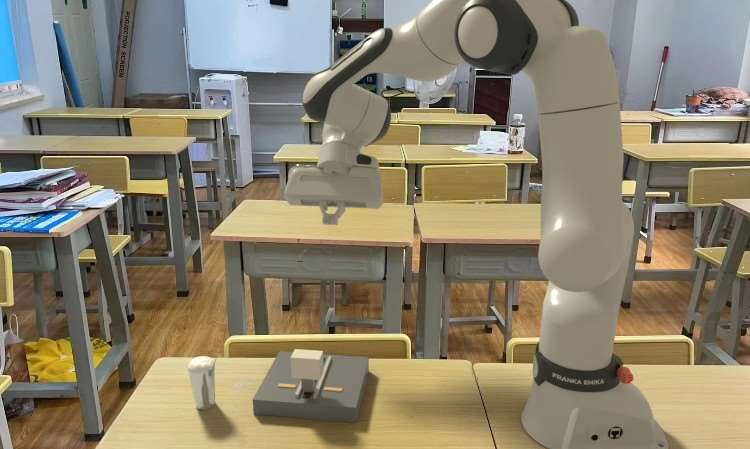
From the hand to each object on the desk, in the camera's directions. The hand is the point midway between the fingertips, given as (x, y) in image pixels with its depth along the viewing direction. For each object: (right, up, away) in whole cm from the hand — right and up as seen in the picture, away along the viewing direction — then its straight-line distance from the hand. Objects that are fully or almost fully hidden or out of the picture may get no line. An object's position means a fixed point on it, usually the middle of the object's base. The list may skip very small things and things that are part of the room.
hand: (329, 223), depth 109 cm
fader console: (-2, -31, -8) cm, 32 cm away
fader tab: (-3, -29, -13) cm, 32 cm away
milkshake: (-21, -33, -12) cm, 40 cm away
